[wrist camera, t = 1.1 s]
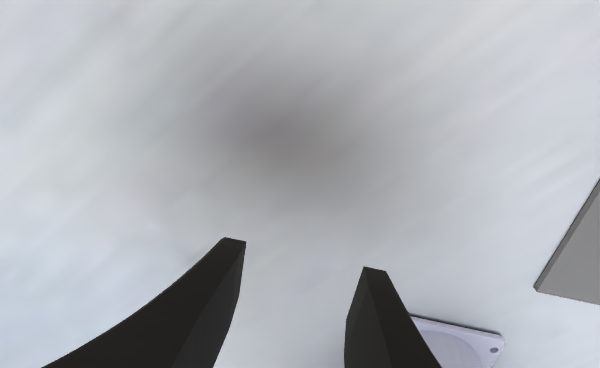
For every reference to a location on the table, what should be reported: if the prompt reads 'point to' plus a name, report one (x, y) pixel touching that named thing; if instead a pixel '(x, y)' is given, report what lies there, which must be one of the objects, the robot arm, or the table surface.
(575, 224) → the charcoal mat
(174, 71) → the table surface
